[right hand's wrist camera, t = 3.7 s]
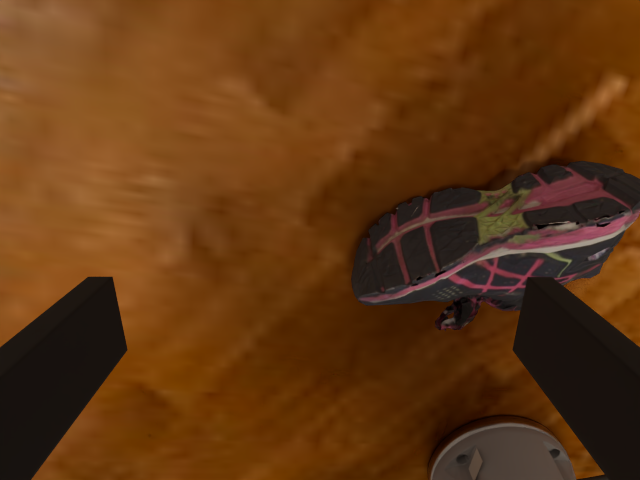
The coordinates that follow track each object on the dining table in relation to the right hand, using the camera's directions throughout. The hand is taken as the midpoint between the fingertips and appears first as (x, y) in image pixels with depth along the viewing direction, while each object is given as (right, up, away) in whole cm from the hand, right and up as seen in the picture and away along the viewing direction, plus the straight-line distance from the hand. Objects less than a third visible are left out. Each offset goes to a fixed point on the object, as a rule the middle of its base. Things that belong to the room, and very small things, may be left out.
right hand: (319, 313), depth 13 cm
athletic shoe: (+14, +2, +23) cm, 27 cm away
